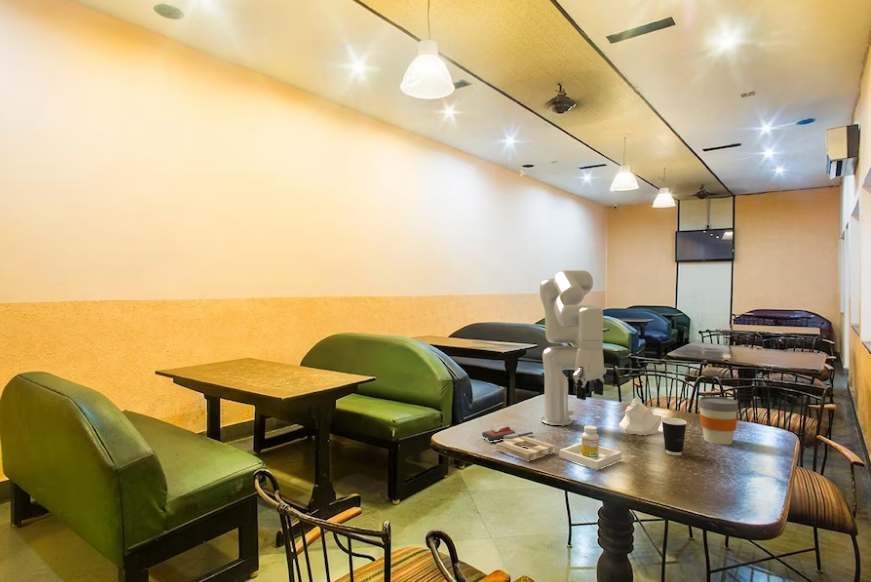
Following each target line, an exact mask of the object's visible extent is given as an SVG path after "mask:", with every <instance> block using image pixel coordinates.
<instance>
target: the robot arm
mask: <svg viewBox="0 0 871 582" xmlns="http://www.w3.org/2000/svg"><path fill="white" fill-rule="evenodd" d="M591 274H592V273H590V272H589V271H587V270H562V271H558V272H557V273H556V274H555V275H554V278H548V279H544V280H542V281H541V282H540V285H539V296H540V300H541V302H542V305H543V308H544V309H543V310H544V325H545V326H544V329H545V330H544V331H545V338H546V341H547V342H549V343H552V344H571V345H572V346H548V347H546V348H545V349H544V350H543V351H542V365H543V371H544V415H543V416H541V417H540V422H541V421H542V422H544V423H546V424H545V425H547V424H550V425H549V426H551V425H568V426H570V425H572V424H571V423H573V420H572V419H571V418H570V416H573V415H574V414H575V411H574V410H571V409H570V410H569V379H568V378H567V376H566V375H565V374H564V372H563V371H565V370H573V371H574V373H573V374H572V378H573V382H574V384H575V387H576V399H578V400H581V401H586V400H587V387H586V384H587V382H591V381H594V382H593V394H594V395H598V396H604V383H605V378H606V373H607V368H606V367H605V363H604V362H605V361H604V351H603V350H604V349H603V346H604V342H603V341H604V329H603V328H604V310H603V309H602V308H601V307H599V306H598V307H597V306H596V305H594V304H593V305H591V304H581V303H582V301H583V300H584V298H585V296H586V295H588V294H589V293H590V292H591V290H592V289H593V286H594V280H593V276H592V275H591ZM542 422H541V423H542ZM544 423H543V424H544ZM569 424H570V425H569Z"/></svg>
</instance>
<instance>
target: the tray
mask: <svg viewBox="0 0 871 582" xmlns="http://www.w3.org/2000/svg"><path fill="white" fill-rule="evenodd" d="M558 453H559V454H558V458H559V457H562V458H565V459H568V460H571V461H574V462H577V463H580V464H583V465H585V466H588V467H591V468H595V469H599V468H601V467H604V466H607V465H609V464H612V463H614V462H617V461H619V460H622V459H623V458H622V457H623V456H622V455H623V454H622V453H623V452H622V451H619V450H615V449H611V448H608V447H605V446H602V445H599V457H598V458H597V459H591V458H588V457H585V456H582V441H581V442H579V443H576V444H573V445H570V446H568V447H567V446H565V448H561V449H559V451H558Z"/></svg>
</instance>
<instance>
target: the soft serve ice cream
mask: <svg viewBox="0 0 871 582" xmlns="http://www.w3.org/2000/svg"><path fill="white" fill-rule="evenodd" d="M624 413H625V415H624V416H623V419H621V421H620V422H619V424H618V426H619V429H620V428H621V429H622V430H623V431H624V432H625V433H630V434H629V435H631V434H637V435H636V436H641V435H644V436H647V435H654V434H655V433H656V434H658V431H659V429H660V426H661V424H662V421H661V419H662V415H657V414H654V412H653V410H651V409H650V408H649V407H646V406H645V404H644V403H642V402H641V401H640V400H639V398H637V397H634V398H633V399H632V401H631V404H630V405H628V406H627V407H626V409H625V410H624ZM621 429H620V430H621ZM622 430H621V431H622ZM623 431H622V432H623ZM624 432H623V433H624ZM625 433H624V434H625Z"/></svg>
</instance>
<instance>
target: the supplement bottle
mask: <svg viewBox="0 0 871 582" xmlns="http://www.w3.org/2000/svg"><path fill="white" fill-rule="evenodd" d="M583 428H584V429H583V430H584V432H583V433H581V442H582V456H585V457H588V458H591V459H597V458H598V457H599V446H600V435H599V434H598V427H597V426H595V425H585V426H584V427H583Z"/></svg>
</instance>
